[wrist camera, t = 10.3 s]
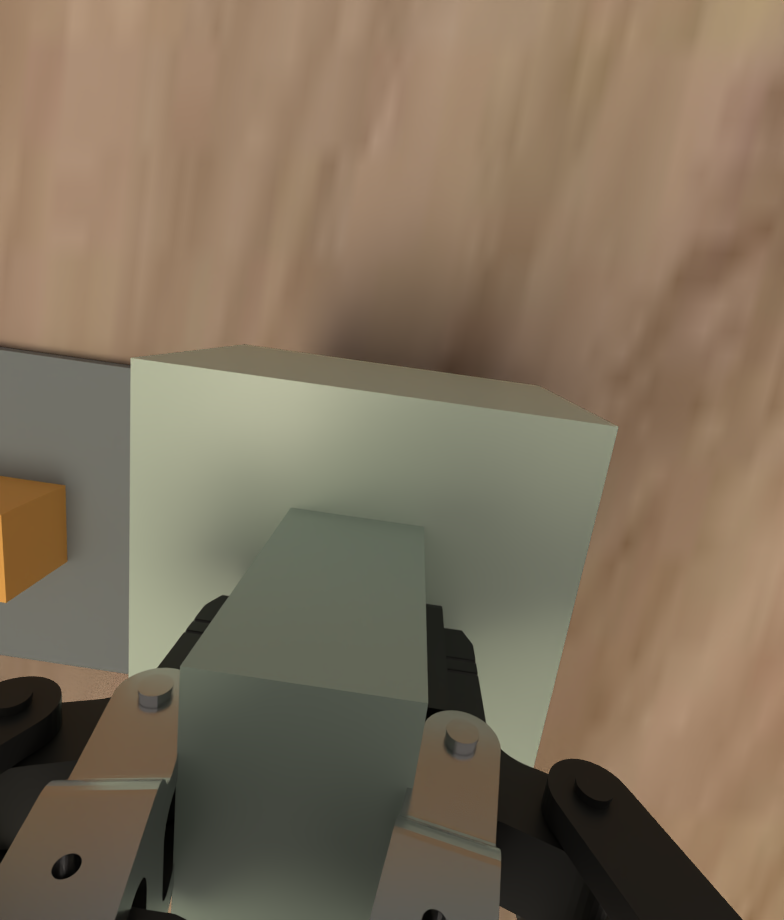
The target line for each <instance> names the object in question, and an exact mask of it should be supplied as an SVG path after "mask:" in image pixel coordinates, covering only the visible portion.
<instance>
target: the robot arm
mask: <svg viewBox="0 0 784 920" xmlns="http://www.w3.org/2000/svg"><path fill="white" fill-rule="evenodd" d="M228 597H229V596H226V595H221V596H219V597H218V598H216V599H214V600H212V601H211V602H209V603H207V604H206V605H204V607H203V608H202V609H201V611H200V612H199V613H198V614H197V616H196V617H195V619H194V621H192V622H191V624H190V625H189V626H188V628H187V629H186V632H184V633H183V634H182V636H181V637H180V638H179V639H178V641H177V642H176V643H175V645H174V646H173V647H172V649H171V650H170V651H169V653H168V654H167V655H166V657H165V658H164V659H163V661H162V662H161V663H160V664H159V666H158V667H157V668H155V669H150V670H146V671H143V672H140V673H137V674H135V675H133V676H131V677H129V678H128V679H126V680H125V681H123V682H122V683H121V684H120V685H119V686H118V687H117V688H116V690H115V691H114V693H113V695H112V697H110V698H105V699H98V700H87V701H75V702H64V703H62V693H61V689H60V687H59V685H58V684H57V683H55V682H54V681H52V680H50V679H47V678H43V677H35V676H28V677H19V678H13V679H9V680H5V681H2V682H0V920H186V919H184V918H182V917H180V916H178V915H177V914H172V913H167V912H168V908H169V904H170V900H171V896H172V892H173V888H174V864H175V863H173V850H174V822H175V794H176V783H177V780H178V755H179V753H177V738H178V710H179V682H180V666H181V664H182V663H183V661H184V660H185V658H186V657H187V656H188V654H189V653H190V651H191V650H192V648H193V647H194V646H195V644H196V643H197V641H198V640H199V638H200V637H201V635H202V634H203V633H204V631H205V630H206V628H207V627H208V625H209V624H210V623H211V621H212V620H213V618H214V617H215V615H216V614H217V613H218V611H219V610H220V608H221V607H222V605H223V604H224V603H225V601H226V600H227V598H228ZM426 631H427V672H428V707H427V713H426V719H425V724H424V730H423V735H422V741H421V746H420V752H419V758H418V763H417V769H416V774H415V780H414V785H413V788H407V790H406V794H405V797H404V801H403V805H402V809H401V813H400V815H398V816H397V818H396V822H395V825H394V829H393V832H392V836H391V840H390V844H389V847H388V851H387V855H386V859H385V863H384V866H383V870H382V874H381V878H380V881H379V885H378V889H377V893H376V897H375V900H374V904H373V908H372V912H371V915H370V919H369V920H499V906H501V907H503V908H505V909H507V910H509V911H511V912H512V913H514V914H516V917H517V920H742V919H741V917H740V916H739V915H738V914H737V913H736V912H735V911H734V909H733V908H732V907H731V906H730V905H729V904H728V903H727V901H726V900H725V899H724V898H723V897H722V896H721V895H720V893H719V892H718V891H717V890H716V889H715V888H714V887H713V885H712V884H711V883H710V882H709V881H708V880H707V879H706V877H705V876H704V875H703V874H702V873H701V872H700V871H699V869H698V868H697V867H696V866H695V865H694V864H693V863H692V861H691V860H690V859H689V858H688V857H687V856H686V855H685V853H684V852H683V851H682V850H681V849H680V848H679V847H678V845H677V844H676V843H675V842H674V841H673V840H672V839H671V837H670V836H669V835H668V834H667V833H666V832H665V831H664V829H663V828H662V827H661V826H660V825H659V824H658V823H657V821H656V820H655V819H654V818H653V817H652V816H651V815H650V813H649V812H648V811H647V810H646V809H645V808H644V807H643V805H642V804H641V803H640V802H639V801H638V800H637V799H636V797H635V796H634V795H633V794H632V793H631V792H630V791H629V789H628V788H627V787H626V786H625V785H624V784H623V783H622V782H621V781H620V780H619V779H618V778H617V777H616V776H614V775H613V774H612V773H610V772H609V771H607V770H606V769H604V768H602V767H600V766H599V765H596V764H594V763H591V762H588V761H585V760H580V759H565V760H562V761H559V762H557V763H556V764H554V765H553V766H552V767H551V769H550V771H549V774H547V773H544V772H542V771H539V770H537V769H535V768H532V767H530V766H527V765H525V764H523V763H521V762H519V761H517V760H515V759H514V758H512V757H510V756H509V755H508V754H506V753H505V752H504V751H503V750H502V749H501V747H500V742H499V739H498V737H497V735H496V734H495V732H494V731H493V730H492V729H491V727H490V726H489V725H487V724H486V719H485V713H484V707H483V701H482V695H481V689H480V683H479V677H478V671H477V666H476V663H475V661H476V660H475V654H474V648H473V644H472V643H471V642H470V640H469V639H468V638H467V636H466V635H465V634H464V632H463V631H462V630H456V629H449V628H444V622H443V610H442V606H439V605H432V604H426Z"/></svg>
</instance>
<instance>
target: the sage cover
mask: <svg viewBox="0 0 784 920" xmlns="http://www.w3.org/2000/svg"><path fill="white" fill-rule="evenodd" d="M617 431H618V426H616V425H614V424H612V423H610V422H608V421H606V420H604V419H603V418H601V417H599V416H597V415H595V414H593V413H591V412H589V411H587V410H585V409H583V408H581V407H579V406H577V405H575V404H573V403H572V402H570V401H568V400H566V399H564V398H562V397H560V396H558V395H556V394H554V393H552V392H550V391H548V390H546V389H544V388H542V387H541V386H538V385H531V384H523V383H516V382H509V381H502V380H495V379H488V378H481V377H474V376H466V375H459V374H452V373H445V372H438V371H431V370H424V369H417V368H409V367H402V366H395V365H388V364H381V363H374V362H367V361H360V360H352V359H345V358H338V357H331V356H324V355H317V354H310V353H303V352H296V351H288V350H281V349H274V348H267V347H260V346H253V345H246V344H244V345H235V346H227V347H218V348H210V349H202V350H193V351H185V352H176V353H168V354H159V355H151V356H142V357H134V358H131V381H130V535H129V677H131V676H133V675H135V674H137V673H140V672H143V671H146V670H150V669H155V668H157V667H158V666H159V664H160V663H161V662H162V661H163V659H164V658H165V657H166V655H167V654H168V653H169V651H170V650H171V649H172V647H173V646H174V645H175V643H176V642H177V641H178V639H179V638H180V637H181V636H182V634H183V633H184V632H186V629H187V628H188V626H189V625H190V624H191V622H192V621H194V619H195V617H196V616H197V614H198V613H199V612H200V611H201V609H202V608H203V607H204V605H206V604H207V603H209V602H211V601H212V600H214V599H216V598H218V597H219V596H221V595H226V596H229V597H228V598H227V600H226V601H225V603H224V604H223V605H222V607H221V608H220V610H219V611H218V613H217V614H216V615H215V617H214V618H213V620H212V621H211V623H210V624H209V625H208V627H207V628H206V630H205V631H204V633H203V634H202V635H201V637H200V638H199V640H198V641H197V643H196V644H195V646H194V647H193V648H192V650H191V651H190V653H189V654H188V656H187V657H186V658H185V660H184V661H183V663H182V664H181V666H180V682H179V710H178V738H177V753H179V755H178V780H177V783H176V794H175V822H174V850H173V863H175V864H174V888H173V892H172V907H171V913H172V914H177V915H178V916H180V917H182V918H184V919H186V920H369V919H370V915H371V912H372V908H373V904H374V900H375V897H376V893H377V889H378V885H379V881H380V878H381V874H382V870H383V866H384V863H385V859H386V855H387V851H388V847H389V844H390V840H391V836H392V832H393V829H394V825H395V822H396V818H397V816H398V815H400V813H401V809H402V805H403V801H404V797H405V794H406V790H407V788H413V785H414V780H415V774H416V769H417V763H418V758H419V752H420V746H421V741H422V735H423V730H424V724H425V719H426V713H427V707H428V672H427V631H426V604H432V605H439V606H442V610H443V622H444V628H449V629H456V630H462V631H463V632H464V634H465V635H466V636H467V638H468V639H469V640H470V642H471V643H472V644H473V648H474V654H475V660H476V661H475V663H476V666H477V671H478V677H479V683H480V689H481V695H482V701H483V707H484V713H485V719H486V724H487V725H489V726H490V727H491V729H492V730H493V731H494V732H495V734H496V735H497V737H498V739H499V742H500V747H501V749H502V750H503V751H504V752H505V753H506V754H508V755H509V756H510V757H512V758H514V759H515V760H517V761H519V762H521V763H523V764H525V765H527V766H530V767H532V768H533V767H534V763H535V759H536V755H537V751H538V747H539V743H540V739H541V735H542V731H543V727H544V723H545V719H546V715H547V711H548V707H549V703H550V699H551V695H552V691H553V687H554V683H555V679H556V675H557V671H558V667H559V663H560V659H561V655H562V651H563V647H564V643H565V639H566V635H567V631H568V627H569V623H570V619H571V615H572V611H573V607H574V603H575V599H576V595H577V591H578V587H579V583H580V579H581V575H582V571H583V567H584V563H585V559H586V555H587V551H588V547H589V543H590V539H591V535H592V531H593V527H594V523H595V519H596V515H597V511H598V507H599V503H600V499H601V495H602V491H603V487H604V483H605V479H606V475H607V471H608V467H609V463H610V459H611V455H612V451H613V447H614V443H615V439H616V435H617Z"/></svg>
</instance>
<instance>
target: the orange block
mask: <svg viewBox="0 0 784 920" xmlns="http://www.w3.org/2000/svg"><path fill="white" fill-rule="evenodd" d="M66 562H67V527H66V488H65V485H60V484H53V483H46V482H39V481H32V480H25V479H18V478H12V477H5V476H0V602H4V603H7V602H8V601H10V600H11V599H13V598H14V597H16V596H17V595H19V594H20V593H22V592H23V591H25V590H26V589H28V588H29V587H30V586H32V585H33V584H35V583H36V582H38V581H39V580H41V579H42V578H44V577H45V576H47V575H48V574H50V573H51V572H53V571H54V570H56V569H57V568H59V567H60V566H62V565H63V564H64V563H66Z"/></svg>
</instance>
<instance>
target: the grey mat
mask: <svg viewBox="0 0 784 920" xmlns="http://www.w3.org/2000/svg"><path fill="white" fill-rule="evenodd" d="M130 381H131V365H124V364H117V363H110V362H103V361H96V360H89V359H82V358H75V357H68V356H61V355H54V354H47V353H40V352H33V351H26V350H19V349H12V348H5V347H0V476H5V477H12V478H18V479H25V480H32V481H39V482H46V483H53V484H60V485H65V488H66V527H67V562H66V563H64V564H63V565H62V566H60V567H59V568H57V569H56V570H54V571H53V572H51V573H50V574H48V575H47V576H45V577H44V578H42V579H41V580H39V581H38V582H36V583H35V584H33V585H32V586H30V587H29V588H28V589H26V590H25V591H23V592H22V593H20V594H19V595H17V596H16V597H14V598H13V599H11V600H10V601H8V602H7V603H4V602H0V655H5V656H12V657H18V658H25V659H32V660H38V661H45V662H52V663H58V664H65V665H72V666H78V667H85V668H91V669H98V670H105V671H111V672H118V673H125V674H129V535H130Z"/></svg>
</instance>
